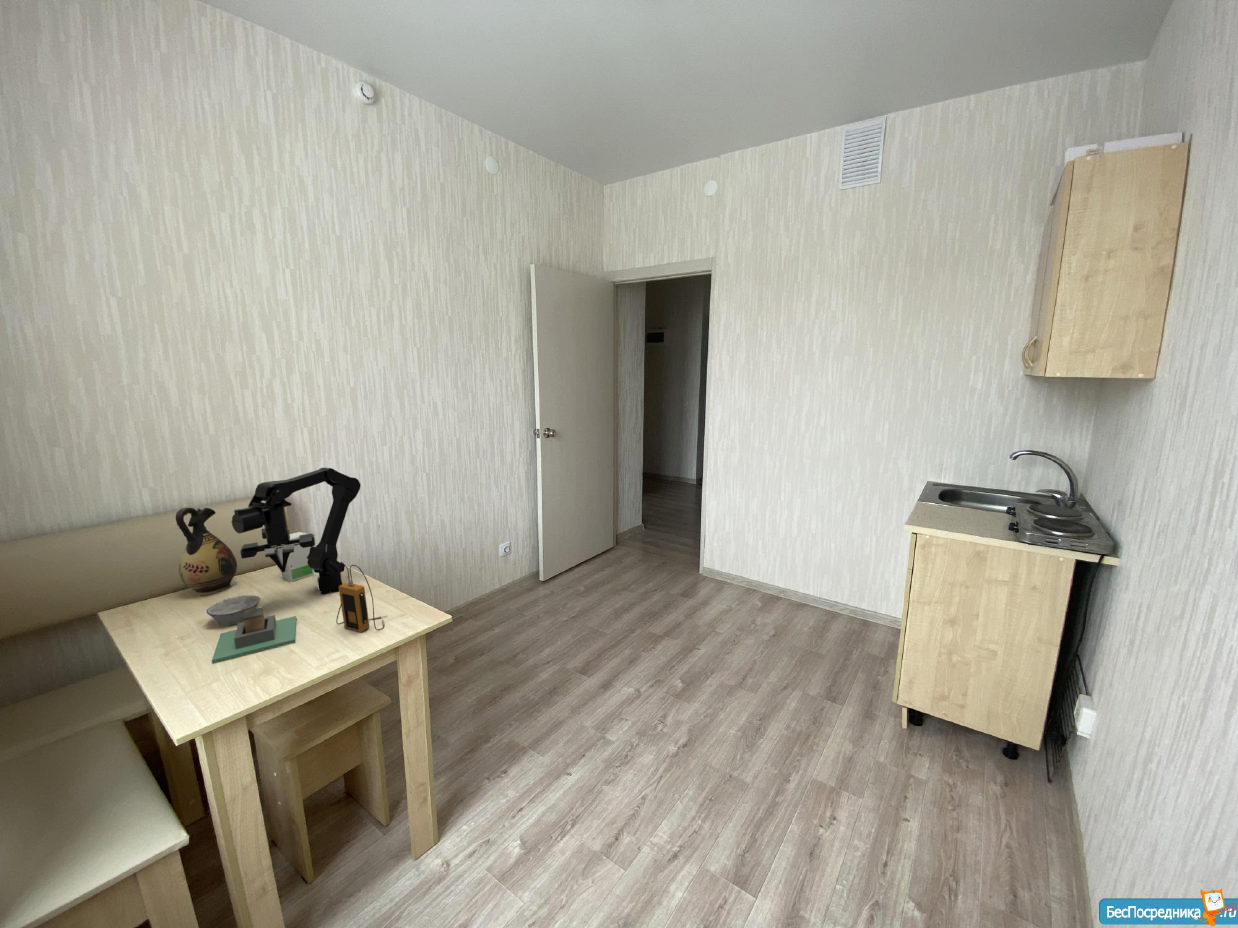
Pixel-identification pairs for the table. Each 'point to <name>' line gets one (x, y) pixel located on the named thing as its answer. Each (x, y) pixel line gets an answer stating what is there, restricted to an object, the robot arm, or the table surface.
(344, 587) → the multimeter
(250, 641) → the board
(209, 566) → the ceramic jug
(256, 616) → the plug
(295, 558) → the skincare box
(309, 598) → the table surface
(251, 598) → the bowl
